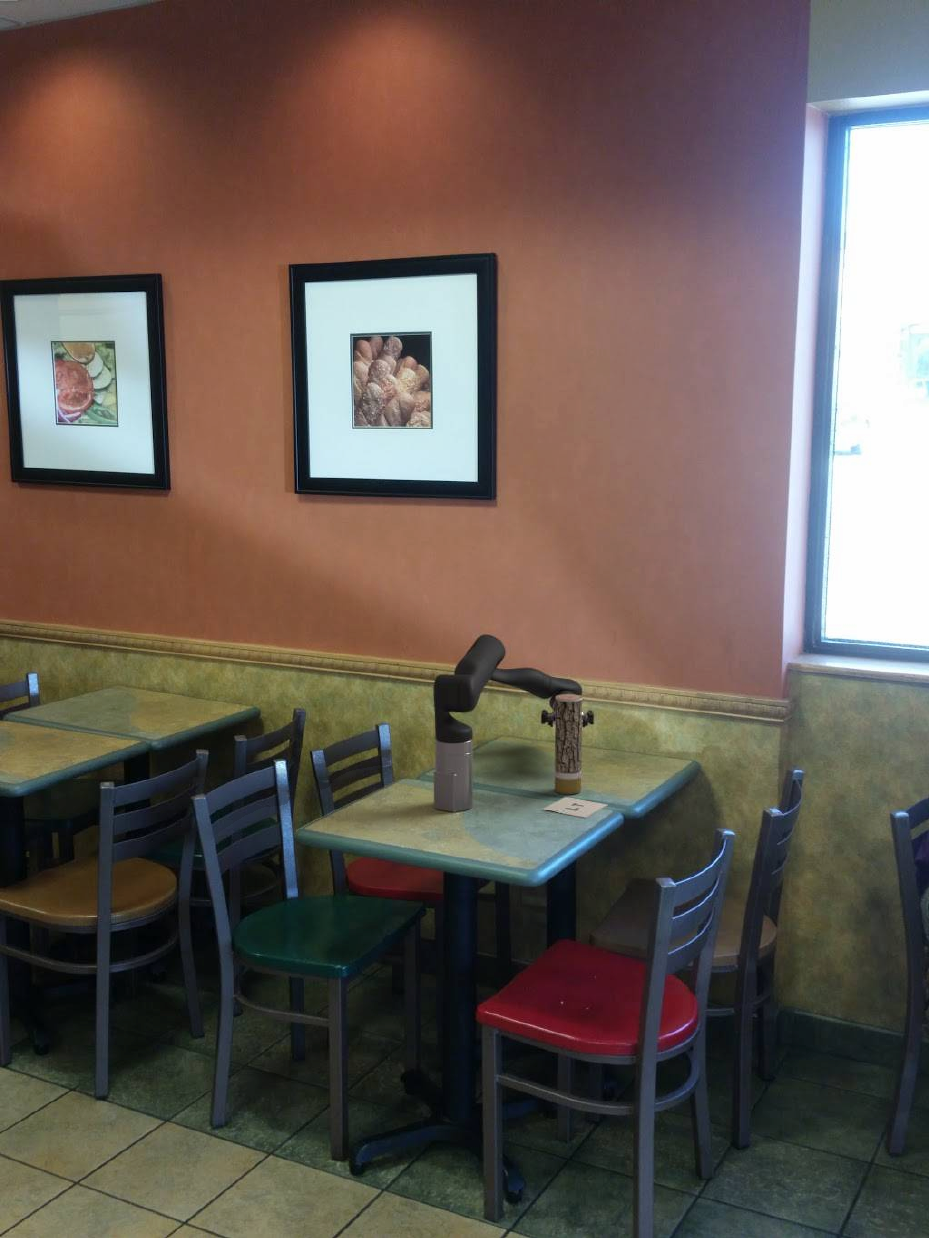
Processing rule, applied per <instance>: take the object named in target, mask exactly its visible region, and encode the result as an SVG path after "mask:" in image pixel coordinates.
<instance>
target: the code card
mask: <svg viewBox="0 0 929 1238" xmlns="http://www.w3.org/2000/svg"><path fill="white" fill-rule="evenodd" d="M608 806H609V805H608V804H607V803H601V802H594V801H589V800H584V799H578V798H573V797H569V796H565V797H563V798H561V799H559V800H557V801H555V802H553V803H551V804H549V805H548V806H546V807H544V808H542V809H541V810H542V811H545V810H553V811H556V810H558V811H556V812H558V813H557V814H560V813H562V815H567V816H572V817H577V818H583V819H587V818H588V817H590V816H592V815H594V814H596V813H597V812H599V811H600V810H602V809H605V808H606V807H608ZM563 810H564V811H563Z"/></svg>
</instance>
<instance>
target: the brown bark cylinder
mask: <svg viewBox="0 0 929 1238" xmlns="http://www.w3.org/2000/svg"><path fill="white" fill-rule="evenodd" d="M582 712H583V696H582V695H581V696H580V695H574V694H562V695H557V696H556V706H555V724H554V725H555V726H554V727H555V728H554V729H555V730H554V731H555V732H554V734H555V735H554V738H555V739H554V791H556V793H558V794H561V795H577V794H578V793H580V792H581V791H582V751H583V749H582V746H583V743H582V741H583V738H582V737H583V727H582Z"/></svg>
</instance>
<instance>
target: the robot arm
mask: <svg viewBox="0 0 929 1238" xmlns="http://www.w3.org/2000/svg"><path fill="white" fill-rule="evenodd" d="M506 651H507V650H506V647H505V645H504V644H503V642H502V641H501V640H500V639H499V638H498V637H496V636H494V635H491V634H481V635H479V636H478V637H477V638H476V640H474V642H473V643H472V645H471V647H469V649H468V650H467V651H466V653H465V655H464V656H463V657H462V658H461V659H460V660H459V662H458V663H457V664H456V666H455V669H454V673H453V674H445V673H444V674H443V673H442V674H438V675H437V676H436V677H435V679H434V683H433V687H432V688H433V689H432V690H433V691H432V692H433V695H432V696H433V708H434V709H433V710H434V732H435V733H434V735H435V741H434V744H435V749H434V750H435V751H434V752H435V754H434V755H435V761H434V762H435V763H434V764H435V770H434V771H433V809H436V810H440V811H441V810H442V811H445V812H446V811H447V812H451V813H456V812H459V811H460V812H461V811H466V810H470V809H472V808H473V805H474V804H473V803H474V802H473V801H474V799H473V797H474V792H473V791H474V790H473V789H474V788H473V787H474V785H473V778H474V776H473V769H474V768H473V766H474V765H473V764H474V763H473V756H474V754H473V753H474V750H473V749H474V748H473V746H474V745H473V743H474V742H473V738H474V735H473V729H472V727H471V726H470V725H469V724H466V723H465V722H462V721H461V720H460V721H459V720H458V719H456V718H455V717H453V716H452V715H451V713H462V714H463V713H471V712H473V711H474V710H475V709H476V708H477V706H478V703H479V701H480V697H481V694H482V691H483V690H484V688H485V687H486V685H488V683H489V681H492V682H494V683H499V684H502V685H507V686H510V687H514V688H516V689H519V690H522V691H525V692H527V693H529V694H530V695H534V696H535V697H537V698H539V699H542V700H548V699H549V702H548V705H549V707H550V709H552V712H549V711H547V710H546V709H542V710H541V715H540V724H542V725H545V724H546V723H547V726H550V728H553V727H554V725H555V706H556V696H557V695H562V694H574V695H580V696H582V695H583V688H582V686H581V685H580V683H579V682H577V681H575V680H573V679H570V678H564V677H556V676H552V675H549V674H548V673H545V672H543V671H541V670H539V669H537V668H532V667H517V668H500V667H499V668H498V666H499V665H500V664H501V662H502V661H504V658H505V657H506V653H507V652H506ZM588 724H589V725H595V714H594V712H593V710H588V711H586V713H585V712H584V713H583V711H582V728H586V727H588Z"/></svg>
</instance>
